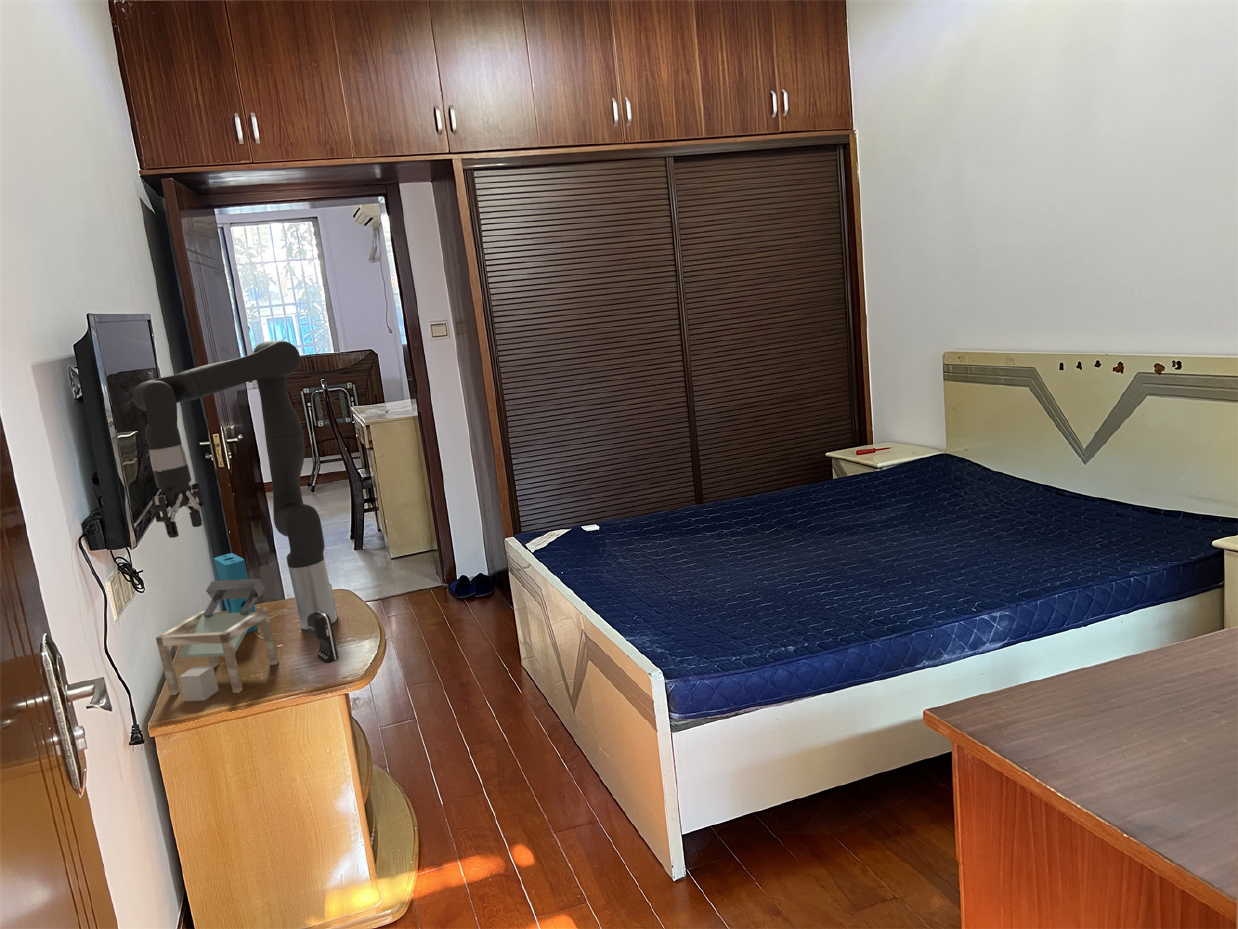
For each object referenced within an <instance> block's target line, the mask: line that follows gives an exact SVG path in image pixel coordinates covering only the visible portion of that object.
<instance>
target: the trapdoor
mask: <svg viewBox="0 0 1238 929" xmlns="http://www.w3.org/2000/svg"><path fill="white" fill-rule="evenodd" d="M265 589H266V588H265V586H264V584H263V582H262V581H261V579H260V578H248V579H241V580H226V581H219V580H213V581H212V580H211V582H210V583H209V586H208V587H207V588H206V590H205V592H206V593H207V594H208V596H209V598H210V599H211V601H210V602H209V604H208V605H207V608H206V609H205V610H204V611H205V612H204V614H203V615H202V616H201V618H200V620H199V621H198V623H197V625H196V626H195V627H194V628H193V630H192V632H191V633H190V634H197V633H216V632H225V631H226V630H228V629H229V628H231V627H232V626H234V625H235V624H237V623H238V622H240V621H242V620H243V619H245V618H246V617H248V616H249V615H251V614H252V613H254V612H250V610H251V608H252V606H253V604H254V605H255V603H256V600H257V599H258V598H261V596H262V594H263V593H264V591H265ZM239 598H248V599H247V601H246V603H245V604H244V606H243V608H242V610H241V612H239V613H227V612H225V613H214V612H215V611H216V609H217V607H218V605H219V604H220V602H221V601H222V600H223V599H239ZM223 601H224V600H223ZM247 630H248V629H247ZM247 630H246V631H244V632H243V633H241V634H240V635H238V636H237V637H235V638H234V639H232V645H233V649H234V653H235V654H236V652H237V650H238V649H239V647H240V645H241V643H242V641H243V639H244V637H245V635H246V634H247V633H246V632H247ZM178 656H179V658H180V659H184V658H186V659H187V658H205V657H206V658H208V657H211V656H217V657H225V656H224V652H223V648H222V644H221V643H216V644H195V645H183V647H182V649H181V650H180V652H179V654H178Z"/></svg>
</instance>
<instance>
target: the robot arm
mask: <svg viewBox="0 0 1238 929" xmlns="http://www.w3.org/2000/svg"><path fill="white" fill-rule="evenodd" d="M300 362H301V355H300V352H299V350H298V349H297V347H296V346H295V345H294V344H292V343H291V342H289V341H286V340H269V341H263V342H261V343H259V344H258V345H256V347H255V348H254V350H253V352H252V353H250V354H248V355H245V356H241V357H238V358H234V359H230V360H229V359H228V360H224V361H219V362H214V363H210V364H205V365H201V366H198V367H194V368H191V369H187V370H184V371H181V372H179V373H176V374H173V375H168V376H163V377H158V378H154V379H151V380H146V381H143V382H141V383H139V384H138V385H136V386H135V388H134V389H133V391H132V394H133V400H132V402H133V401H134V402H133V404H134V406H136V408H138V409H140V410H141V411H144V412H146V417H147V425H146V426H145V428H144V433H145V439H146V443H147V446H148V451H149V452H148V453H149V459H150V464H151V469H152V473H153V476H154V481H155V485H156V488H158V489H160V490H161V495H157V496H152V498H151V502H152V508H153V512H154V516H155V521H156V523H163V524H164V525H165V526H164V527H165V530H166V534H167V536H168V537H169V539H173V538H174V539H175V538H178V537H179V535H180V534H179V531H178V530H179V529H178V526H177V522H176V521H175V518H176V514H177V513H178V512H179V511H180V510H179V509H182V508H183V507H185V508H186V509H187V511H189V516H190V517H189V518H190V521H191V526H192V527H194V528H199V527H201V526H202V525H203V520H202V517H201V508H202V507H205V505H206V504H205V499H204V495H203V492H202V489H201V485H200V483H199V482H192V476H191V471H190V468H189V463H188V460H187V459H188V458H187V455H186V451H185V448H184V445H183V444H182V439H181V434H180V430H179V427H178V403H181V402H190V401H194V400H195V401H196V400H198V399H201V398H205V397H208V396H211V395H213V394H216V393H220V392H223V391H224V390H227V389H231V388H234V387H237V386H240V385H243V384H247V383H250V382H254V381H256V384H257V387H258V392H259V397H260V403H261V412H262V421H263V427H264V437H265V438H264V439H265V444H266V452H267V457H268V465H269V471H270V476H271V477H270V478H271V484H272V486H271V487H272V503H273V504H272V505H273V506H272V508H273V509H272V510H273V512H272V513H273V524H274V526H275V528H276V530H277V532H278V533H279V534H281V536H284V537H287V539H288V544H289V553H288V554H287V555H286V563H287V568H288V573H289V578H290V581H291V582H290V583H291V587H292V591H293V596H294V599H295V605H296V609H297V614H298V619H299V623H300V628H301V629H302V630H307V631H309V629H308V623H307V618H308V616H309V615H310V614H312V613H315V612H317V611H322V612H325V613H326V614H328V615H329V617H330V619H331V623H332V625H333V624H334V623H335V622H337V620H338V618H337V617H338V610H337V606H336V601H335V596H334V592H333V587H332V586H333V585H332V583H330V580H329V579H330V578H329V575H328V574H329V573H328V569H327V566H326V560H325V556H324V551H325V539H324V534H323V527H322V521H321V518H320V514H319V512H318V511H317V510H316V508H315V507H314V506H312V505H310V504H306V503H304V502H303V496H302V490H301V475H302V470H303V465H304V461H305V453H306V449H305V448H306V447H305V446H306V445H305V440H304V439H305V438H304V430H303V426H302V422H301V420H300V418H299V416H298V414H297V412H296V409H295V407H293V406H294V405H293V404H292V401H291V400H290V397H289V393H288V392H289V391H288V387H287V385H288V384H287V376H290V375H292V374H293V373H294V372H296V370H297V369H298V368H299V366H300ZM197 499H198V500H197ZM161 514H162V516H161Z"/></svg>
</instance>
